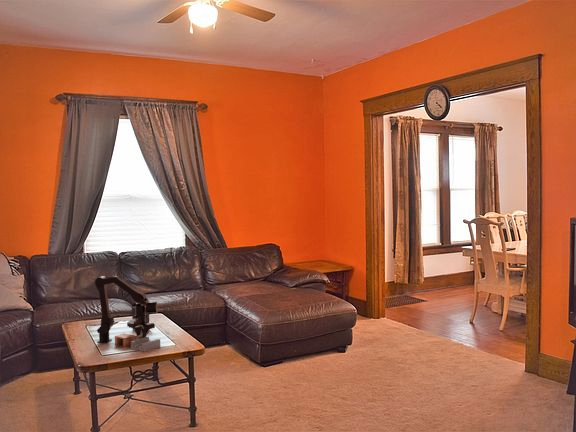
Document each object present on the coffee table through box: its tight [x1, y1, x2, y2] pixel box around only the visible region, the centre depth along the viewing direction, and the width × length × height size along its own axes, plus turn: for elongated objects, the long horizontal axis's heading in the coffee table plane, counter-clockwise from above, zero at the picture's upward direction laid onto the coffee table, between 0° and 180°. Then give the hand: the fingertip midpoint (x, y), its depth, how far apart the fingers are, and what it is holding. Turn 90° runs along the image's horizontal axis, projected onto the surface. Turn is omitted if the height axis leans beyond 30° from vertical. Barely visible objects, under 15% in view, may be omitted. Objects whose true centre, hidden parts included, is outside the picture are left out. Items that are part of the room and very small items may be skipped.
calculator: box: [131, 306, 150, 331], centre depth 353 cm, size 11×4×15 cm, turn 74°
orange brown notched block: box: [114, 333, 136, 349], centre depth 315 cm, size 7×9×6 cm
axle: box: [121, 333, 143, 347], centre depth 320 cm, size 16×4×4 cm, turn 146°
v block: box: [130, 336, 161, 352], centre depth 310 cm, size 12×11×4 cm
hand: (141, 338), depth 325 cm, fingers closed on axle, 4 cm apart
